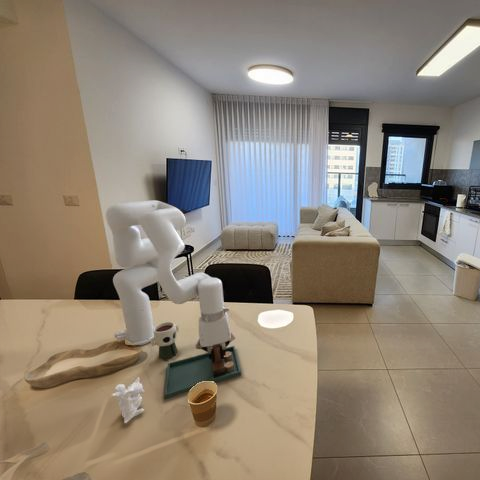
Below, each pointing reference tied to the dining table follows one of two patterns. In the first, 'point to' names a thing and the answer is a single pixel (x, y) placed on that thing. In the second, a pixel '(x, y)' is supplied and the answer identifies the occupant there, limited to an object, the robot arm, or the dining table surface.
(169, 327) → the character mug
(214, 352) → the brush
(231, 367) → the crumb
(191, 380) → the tray
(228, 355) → the crumb
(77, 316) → the dining table surface
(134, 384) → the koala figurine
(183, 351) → the dining table surface
